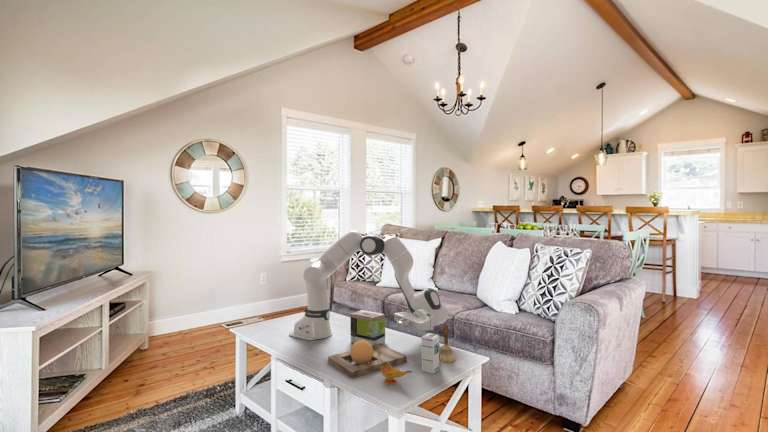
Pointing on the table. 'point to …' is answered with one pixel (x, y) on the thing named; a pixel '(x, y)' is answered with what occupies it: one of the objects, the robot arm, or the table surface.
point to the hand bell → (446, 347)
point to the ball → (361, 352)
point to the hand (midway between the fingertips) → (398, 323)
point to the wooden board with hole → (355, 371)
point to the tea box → (368, 327)
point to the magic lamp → (391, 372)
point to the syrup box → (430, 353)
